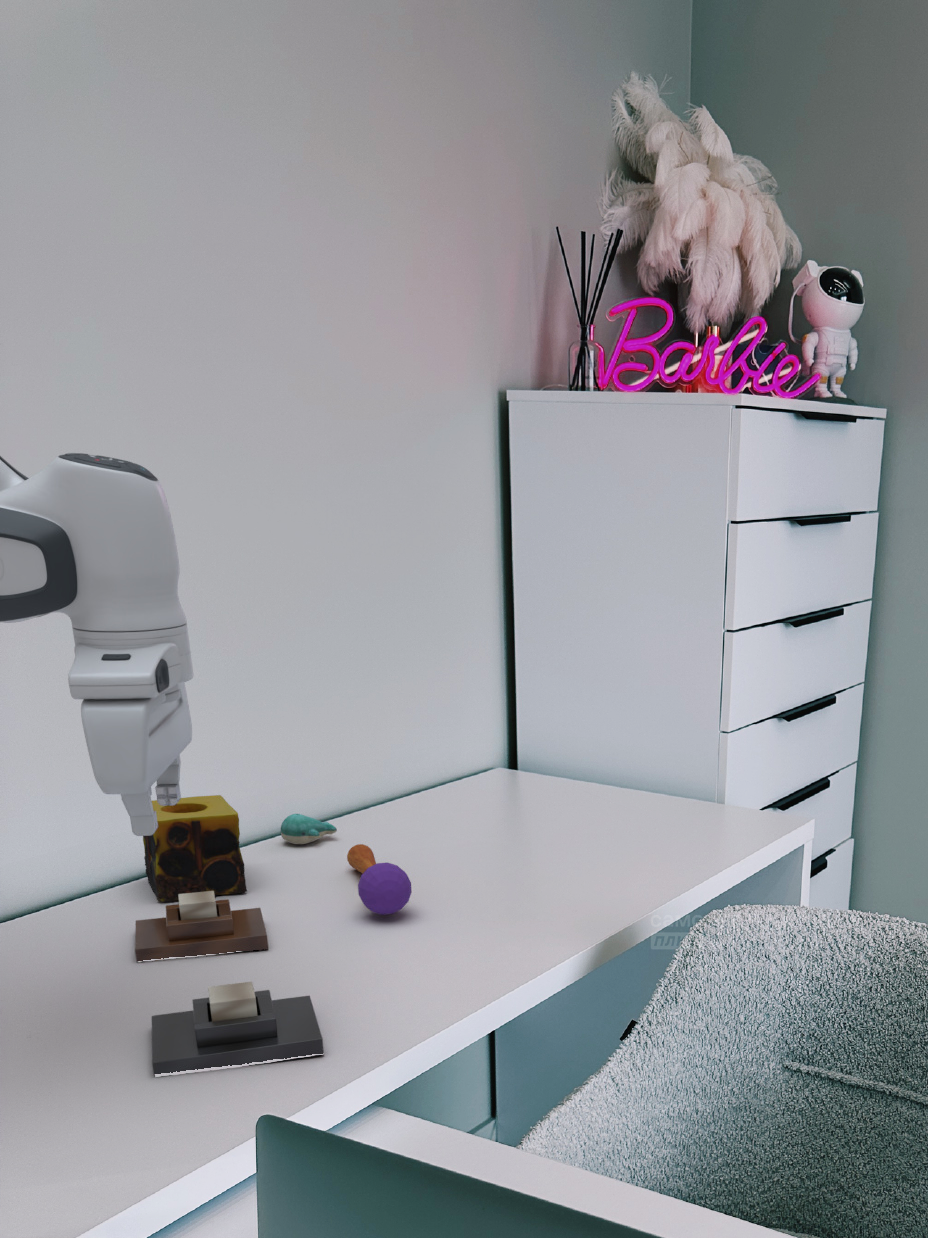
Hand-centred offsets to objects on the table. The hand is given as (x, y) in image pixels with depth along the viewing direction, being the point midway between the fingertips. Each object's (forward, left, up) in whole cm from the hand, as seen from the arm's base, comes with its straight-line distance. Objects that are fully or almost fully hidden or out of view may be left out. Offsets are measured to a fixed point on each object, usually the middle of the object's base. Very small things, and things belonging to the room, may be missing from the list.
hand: (158, 818), depth 110 cm
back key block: (+2, +20, -20) cm, 28 cm away
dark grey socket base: (+4, -7, -20) cm, 21 cm away
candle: (+2, +39, -20) cm, 44 cm away
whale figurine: (+17, +55, -20) cm, 61 cm away
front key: (+4, -7, -17) cm, 18 cm away
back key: (+2, +20, -17) cm, 26 cm away
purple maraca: (+22, +30, -20) cm, 43 cm away
